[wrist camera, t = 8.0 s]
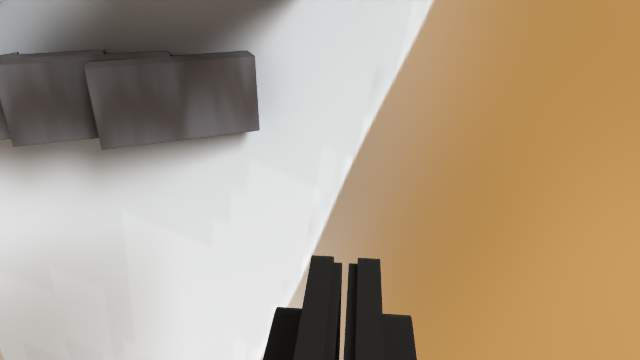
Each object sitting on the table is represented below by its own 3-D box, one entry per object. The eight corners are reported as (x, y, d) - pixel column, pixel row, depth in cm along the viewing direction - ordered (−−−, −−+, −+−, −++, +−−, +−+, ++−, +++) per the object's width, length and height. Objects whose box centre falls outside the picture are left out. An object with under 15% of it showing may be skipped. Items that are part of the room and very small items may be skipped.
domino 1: (167, 50, 33) (-1, 58, 29) (170, 56, 31) (-9, 65, 28) (175, 120, 35) (19, 135, 32) (178, 129, 33) (13, 146, 30)
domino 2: (247, 50, 32) (86, 61, 29) (254, 56, 30) (84, 69, 27) (252, 120, 34) (103, 138, 31) (259, 130, 33) (101, 150, 30)
